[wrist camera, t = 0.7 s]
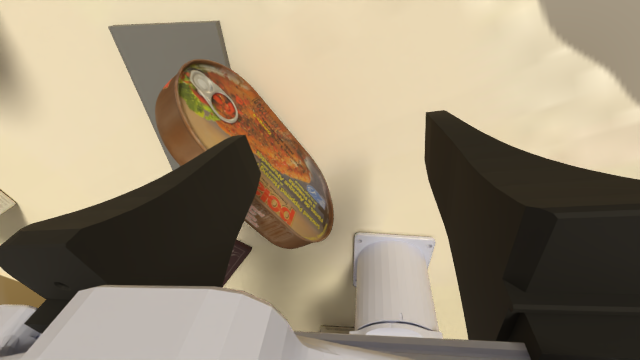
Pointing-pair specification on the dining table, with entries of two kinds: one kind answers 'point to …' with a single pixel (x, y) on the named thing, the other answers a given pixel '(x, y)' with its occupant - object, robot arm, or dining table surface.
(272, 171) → the tin
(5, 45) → the dining table surface
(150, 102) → the mat
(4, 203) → the skincare box
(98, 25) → the dining table surface
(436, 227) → the dining table surface
